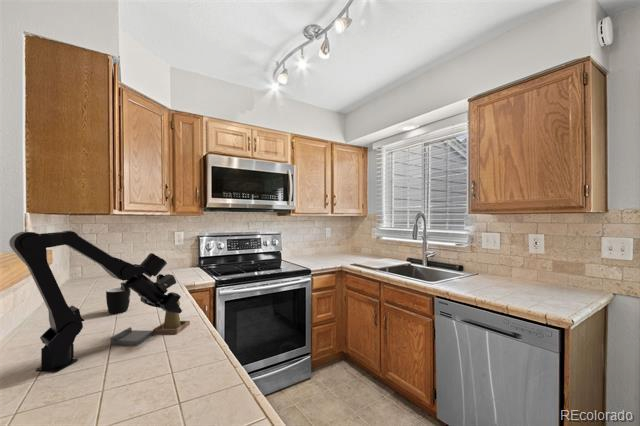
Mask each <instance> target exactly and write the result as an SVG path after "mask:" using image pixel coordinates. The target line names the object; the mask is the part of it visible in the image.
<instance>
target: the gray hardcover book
mask: <svg viewBox="0 0 640 426" xmlns="http://www.w3.org/2000/svg"><path fill="white" fill-rule="evenodd" d="M153 336H154V334H153V330H139V329H138V330H134V329H132V327H128V328H126V329H124V330H122V331H121V332H118V333H117V334H114V335H113V336H110V345H111V346H138V345H140V344H141V343H144V342H145V341H147V340H148V339H149V338H151V337H153Z"/></svg>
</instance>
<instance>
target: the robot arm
mask: <svg viewBox="0 0 640 426" xmlns="http://www.w3.org/2000/svg"><path fill="white" fill-rule="evenodd" d="M8 243H9V247H10V248H11V249H12V251H13V252H14V253H15V255H16V256H17V257H18V258H19V259H20V260H21V261H22V263H24V264H25V266H26V267H27V269H28V271H29V272H30V275H31V277H32V279H33V281H34V283H35V285H36V287H37V289H38V292H39V294H40V296H41V298H42V300H43V302H44V304H45V306H46V308H47V312H48V321H49V328H48V329H47V330H46V331H45V332H44V333H43V334H42V335H41V336H39V338H40V340H41V342H42V344H44V346H43V347H42V348H41V350H40V351H41V353H40V354H41V355H40V357H41V359H40V361H41V363H40V366H39V367H38V368H36V369H35V372H49V373H50V372H53V373H58V372H60V371H61V370H62V369H64V368H65V369H66V367H69V366H70V365H72V364H74V363H76V362H78V358H74V355H75V354H74V352H75V350H74V349H75V346H74V342H75V340H76V337H77V336H78V335H80V333H81V331H82V330H83V328H84V325H83V322H85V318H83V317H82V315H81V312H80V309H79V308H78V307H76V306H74V305H71V306H69V305H68V303H67V302H66V300H65V297H64V295H63V292H62V291H61V288H60V287H59V284H58V282H57V280H56V278H55V276H54V273H53V271H52V269H51V267H50V265H49V262H48V253H47V248H49V249H50V248H53V247H59V246H61V247H62V246H66V247H68V248H70V249H72V250H73V251H75V252H77V253H79V254H80V255H82V256H84V257H86V258H87V259H89V260H90V261H93V262H94V263H96V264H97V265H99V266H100V267H101V268H102V269H103V270H104V271H105V272H106V273H107V274H108V275H109V276H111V277H112V278H115V279H117V280H120V281H124V282H121V283H120V287H121V289H120V290H122V291H125V292H126V291H127V290H128V289H129V288H130V290H132V291H133V292H135V294H137V296H139V297H140V302H142V304H144V305H148V306H151V307H153V308H154V307H155V308H159V309H161V310H162V311H165V312H166V311H167V312H174V313H179V314H181V313H182V312H183V310H182V308H181V307H180V306H179V305H178V303H177V302H178V300H179V301H180V300H181V298H182V296H181V295H179V294H178V293H177V292H173V291H171V292H168V291H169V290H168V289H169V288H171V287H172V286H174V285H176V284H177V283H178V282H177V280H176V278H175V275H174V274H169V273H167V274H161V273H160V272H161V271H162V270H163V269H164V267H166V265H167V264H168V263H167V261H166V260H165V259H164V258H161V257H160V256H159V255H156V254H155V253H153V252H150V253H149V254H148V255H147V256H146V258H144V259H143V261H142V262H141V263H140V264H136V263H131V262H129V261H126V260H124V259H120V258H119V257H118V258H117V257H115V256H113V255H111V254H109V253H107V252H106V251H104V250H103V249H101V248H100V247H98V246H96V245H94V244H93V243H92V242H90V241H88V240H86V238H83V237H82V236H81V235H79V234H78V233H77V232H75V231H72V230H62V231H57V232H45V233H37V232H34V231H20V232H17V233H15V234H14V235H12V236H11V237H10V239H9V242H8ZM152 277H156V279H155V280H156V281H153V280H152V279H150V278H152Z"/></svg>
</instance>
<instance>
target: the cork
mask: <svg viewBox="0 0 640 426" xmlns="http://www.w3.org/2000/svg"><path fill="white" fill-rule="evenodd" d="M177 303H178V305H179V307H180V306H181V305H180V304H181V301H180V299H179V300H178V302H177ZM180 318H181V317H180V313H174V312H167V311H165V314H164V320H163V321H164V322H163V323H164V327H163V329H177V328H178V327H180V326H181V324H180V321H181V319H180Z"/></svg>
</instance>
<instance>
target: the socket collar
mask: <svg viewBox="0 0 640 426" xmlns="http://www.w3.org/2000/svg"><path fill="white" fill-rule="evenodd" d="M180 324H181V326H180V327H178V328H177V329H163V327H164V322H163V323H161V324H160V325H158V326H156V327H154V328H153V329H152V331H153V335H155V334H157V335H158V334H159V335H161V334H162V335H178V334H179V333H180V332H181V331H183V330H185V329H186V328H188V327H189V326H190V325H191V321H190V320H180Z"/></svg>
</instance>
